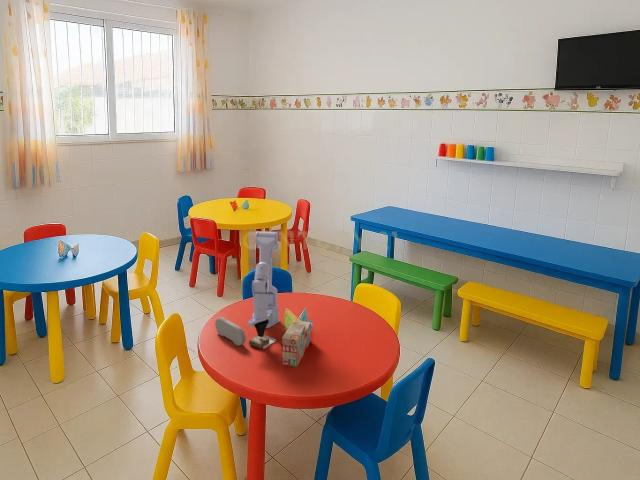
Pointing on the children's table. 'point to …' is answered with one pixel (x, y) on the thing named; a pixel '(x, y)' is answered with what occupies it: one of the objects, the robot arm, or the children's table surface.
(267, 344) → the mat
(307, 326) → the stack of blocks
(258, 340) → the walnut tile
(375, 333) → the children's table surface
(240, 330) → the game controller
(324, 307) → the children's table surface
